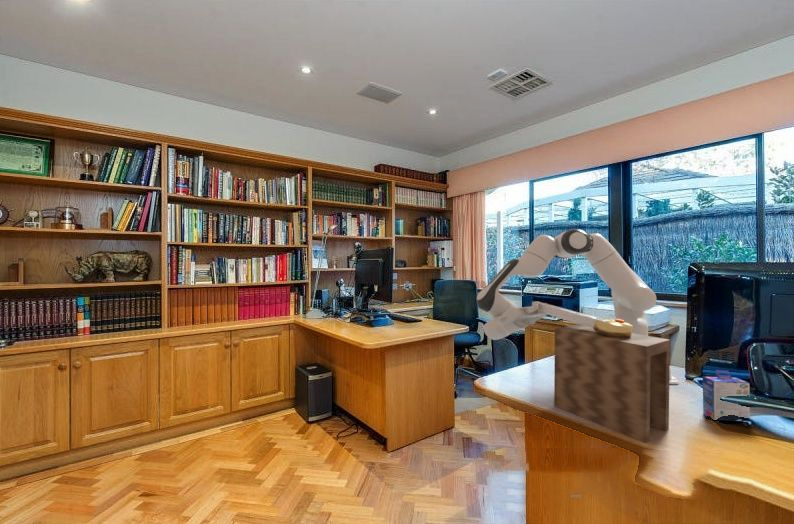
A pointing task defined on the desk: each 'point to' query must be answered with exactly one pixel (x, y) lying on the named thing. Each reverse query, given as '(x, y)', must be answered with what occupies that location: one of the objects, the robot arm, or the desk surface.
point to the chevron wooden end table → (613, 379)
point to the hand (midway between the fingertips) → (542, 305)
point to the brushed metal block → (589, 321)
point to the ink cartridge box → (724, 388)
